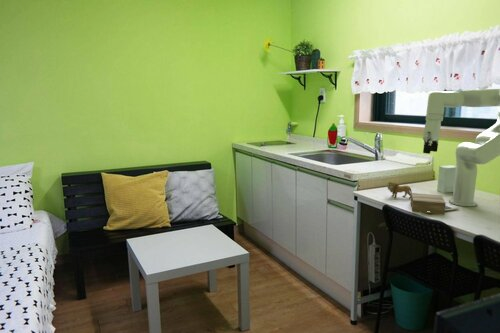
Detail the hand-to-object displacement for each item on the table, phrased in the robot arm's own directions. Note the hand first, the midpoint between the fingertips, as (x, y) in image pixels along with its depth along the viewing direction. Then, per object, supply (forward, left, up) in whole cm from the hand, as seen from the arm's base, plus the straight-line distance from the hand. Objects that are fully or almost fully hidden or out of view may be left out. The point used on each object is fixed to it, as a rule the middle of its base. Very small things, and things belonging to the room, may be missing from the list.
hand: (430, 152), depth 191 cm
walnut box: (+6, 0, -28) cm, 28 cm away
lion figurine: (-11, -12, -28) cm, 32 cm away
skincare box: (-33, +15, -27) cm, 45 cm away
